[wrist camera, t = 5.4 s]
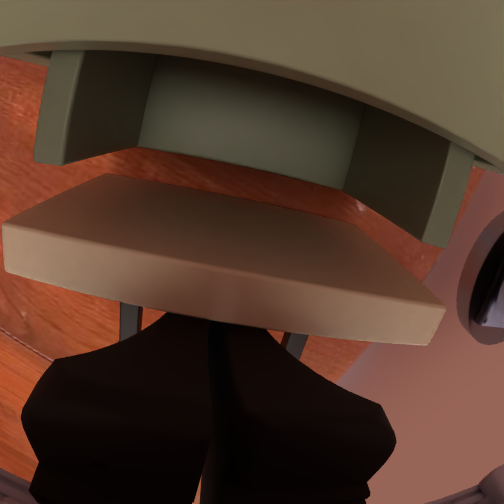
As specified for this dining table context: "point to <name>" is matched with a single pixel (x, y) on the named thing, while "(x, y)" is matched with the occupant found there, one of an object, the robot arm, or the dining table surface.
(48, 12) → the cabinet
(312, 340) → the dining table surface
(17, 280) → the dining table surface
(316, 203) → the dining table surface
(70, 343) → the dining table surface
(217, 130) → the drawer
